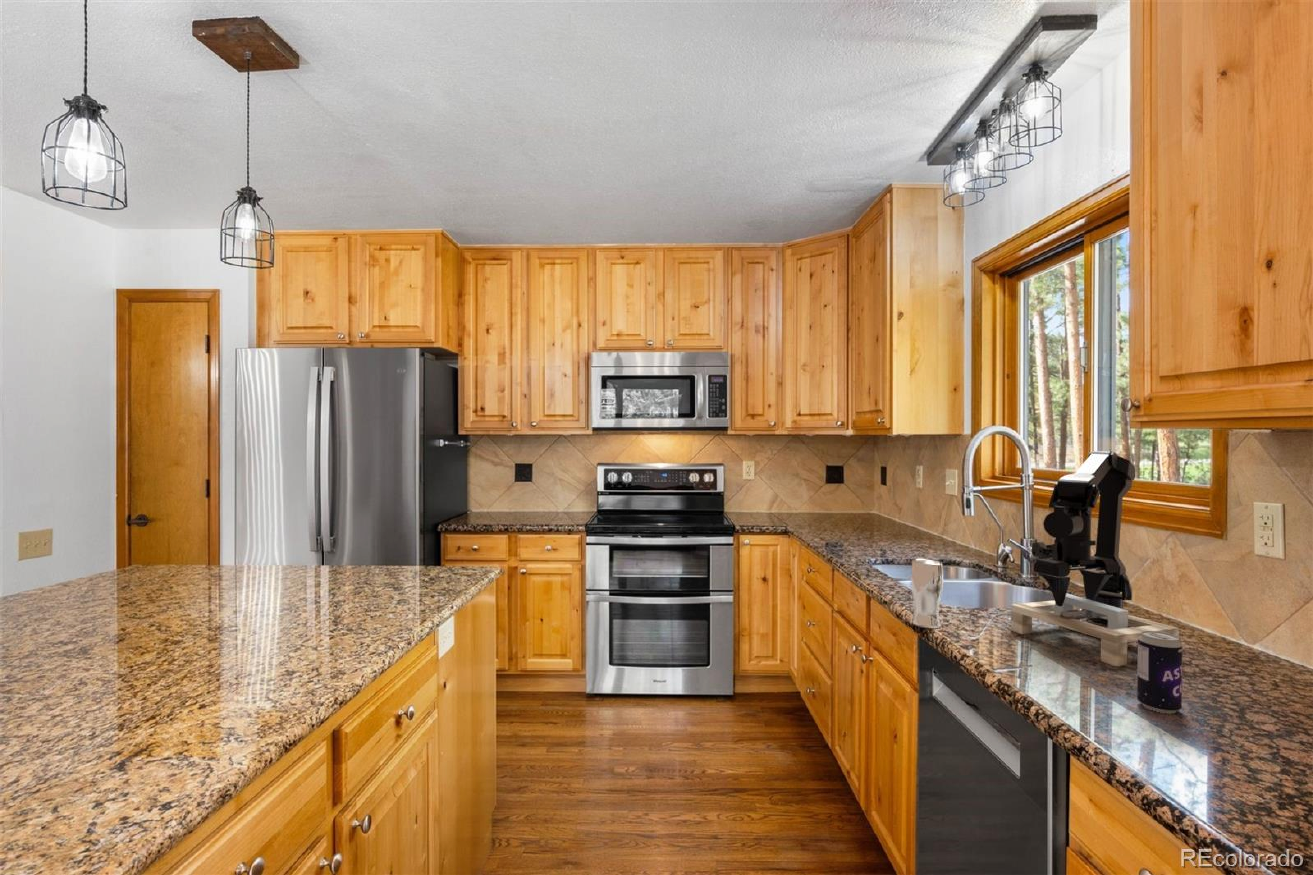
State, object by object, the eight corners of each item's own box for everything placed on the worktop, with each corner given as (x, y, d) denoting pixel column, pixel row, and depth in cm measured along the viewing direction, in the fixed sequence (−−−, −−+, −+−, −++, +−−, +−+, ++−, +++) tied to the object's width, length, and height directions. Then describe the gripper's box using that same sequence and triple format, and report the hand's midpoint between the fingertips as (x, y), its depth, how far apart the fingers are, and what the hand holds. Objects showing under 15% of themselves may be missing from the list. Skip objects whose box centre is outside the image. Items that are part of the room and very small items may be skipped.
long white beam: (1064, 616, 144) (1065, 592, 144) (1127, 636, 130) (1128, 610, 130) (1054, 617, 143) (1055, 593, 143) (1116, 638, 130) (1118, 611, 129)
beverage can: (1164, 717, 99) (1165, 642, 99) (1128, 703, 105) (1129, 631, 105) (1190, 713, 101) (1191, 639, 101) (1153, 699, 106) (1154, 629, 106)
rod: (1109, 614, 140) (1109, 605, 140) (1118, 616, 138) (1118, 607, 138) (1060, 619, 135) (1060, 609, 135) (1068, 621, 133) (1068, 612, 133)
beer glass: (911, 627, 146) (912, 563, 146) (909, 619, 153) (910, 557, 153) (944, 630, 144) (945, 565, 144) (940, 622, 151) (941, 559, 151)
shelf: (1067, 624, 151) (1068, 599, 151) (1178, 657, 128) (1178, 628, 128) (1010, 630, 145) (1010, 604, 145) (1116, 666, 122) (1116, 635, 122)
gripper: (1071, 528, 151) (1070, 593, 151) (1012, 530, 145) (1011, 598, 144) (1119, 535, 140) (1118, 605, 140) (1057, 538, 134) (1056, 611, 134)
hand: (1074, 604), depth 140 cm, fingers open, 9 cm apart
